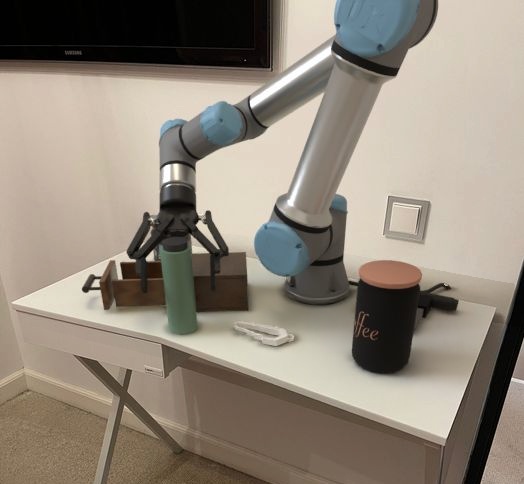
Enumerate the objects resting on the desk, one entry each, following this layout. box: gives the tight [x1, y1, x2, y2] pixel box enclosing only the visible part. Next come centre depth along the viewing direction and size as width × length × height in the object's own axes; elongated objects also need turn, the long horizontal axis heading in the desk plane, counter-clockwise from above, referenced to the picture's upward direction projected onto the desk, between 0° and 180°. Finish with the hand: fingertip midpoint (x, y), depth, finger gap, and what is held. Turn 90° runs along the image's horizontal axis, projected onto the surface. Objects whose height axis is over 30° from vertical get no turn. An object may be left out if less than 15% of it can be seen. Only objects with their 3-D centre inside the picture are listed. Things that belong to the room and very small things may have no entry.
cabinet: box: [192, 251, 249, 313], centre depth 123 cm, size 18×14×9 cm
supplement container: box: [149, 222, 193, 261], centre depth 142 cm, size 10×10×12 cm
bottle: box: [160, 237, 199, 335], centre depth 108 cm, size 6×6×19 cm
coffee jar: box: [351, 259, 423, 375], centre depth 97 cm, size 11×11×18 cm
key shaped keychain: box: [233, 320, 295, 347], centre depth 109 cm, size 13×5×2 cm, turn 69°
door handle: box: [414, 290, 460, 331], centre depth 117 cm, size 3×20×16 cm
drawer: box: [81, 259, 166, 311], centre depth 122 cm, size 21×12×7 cm, turn 93°
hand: (178, 289), depth 106 cm, fingers open, 13 cm apart
